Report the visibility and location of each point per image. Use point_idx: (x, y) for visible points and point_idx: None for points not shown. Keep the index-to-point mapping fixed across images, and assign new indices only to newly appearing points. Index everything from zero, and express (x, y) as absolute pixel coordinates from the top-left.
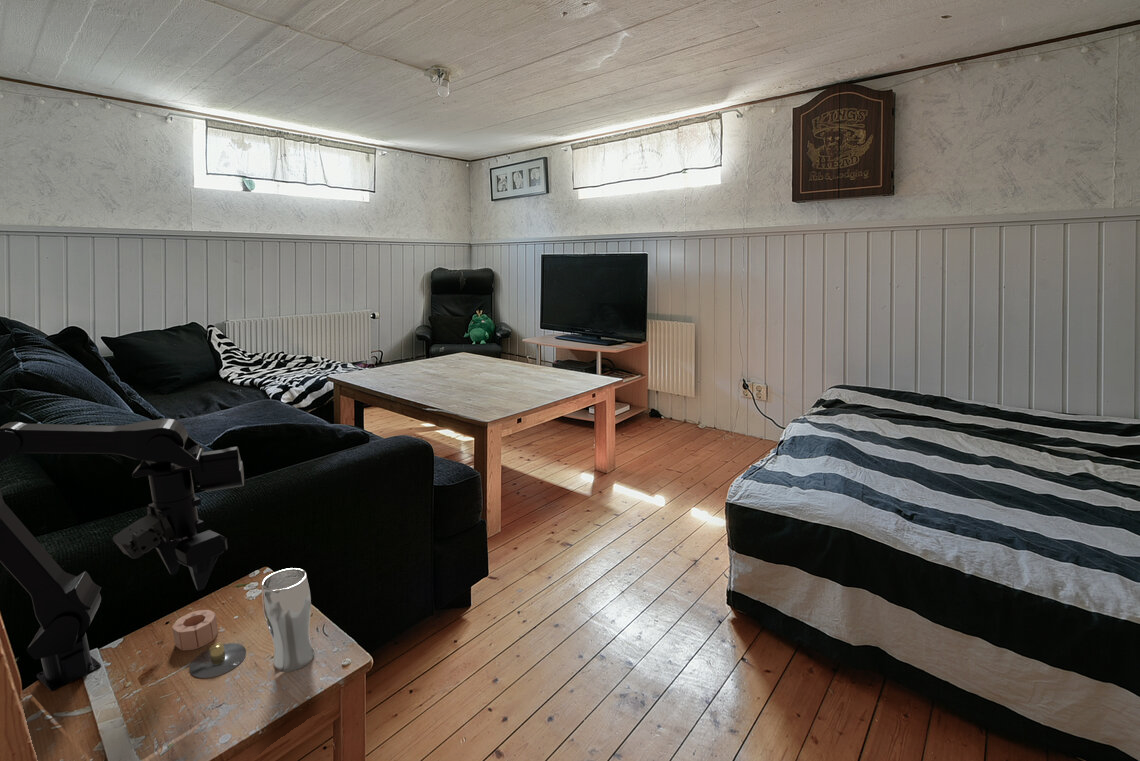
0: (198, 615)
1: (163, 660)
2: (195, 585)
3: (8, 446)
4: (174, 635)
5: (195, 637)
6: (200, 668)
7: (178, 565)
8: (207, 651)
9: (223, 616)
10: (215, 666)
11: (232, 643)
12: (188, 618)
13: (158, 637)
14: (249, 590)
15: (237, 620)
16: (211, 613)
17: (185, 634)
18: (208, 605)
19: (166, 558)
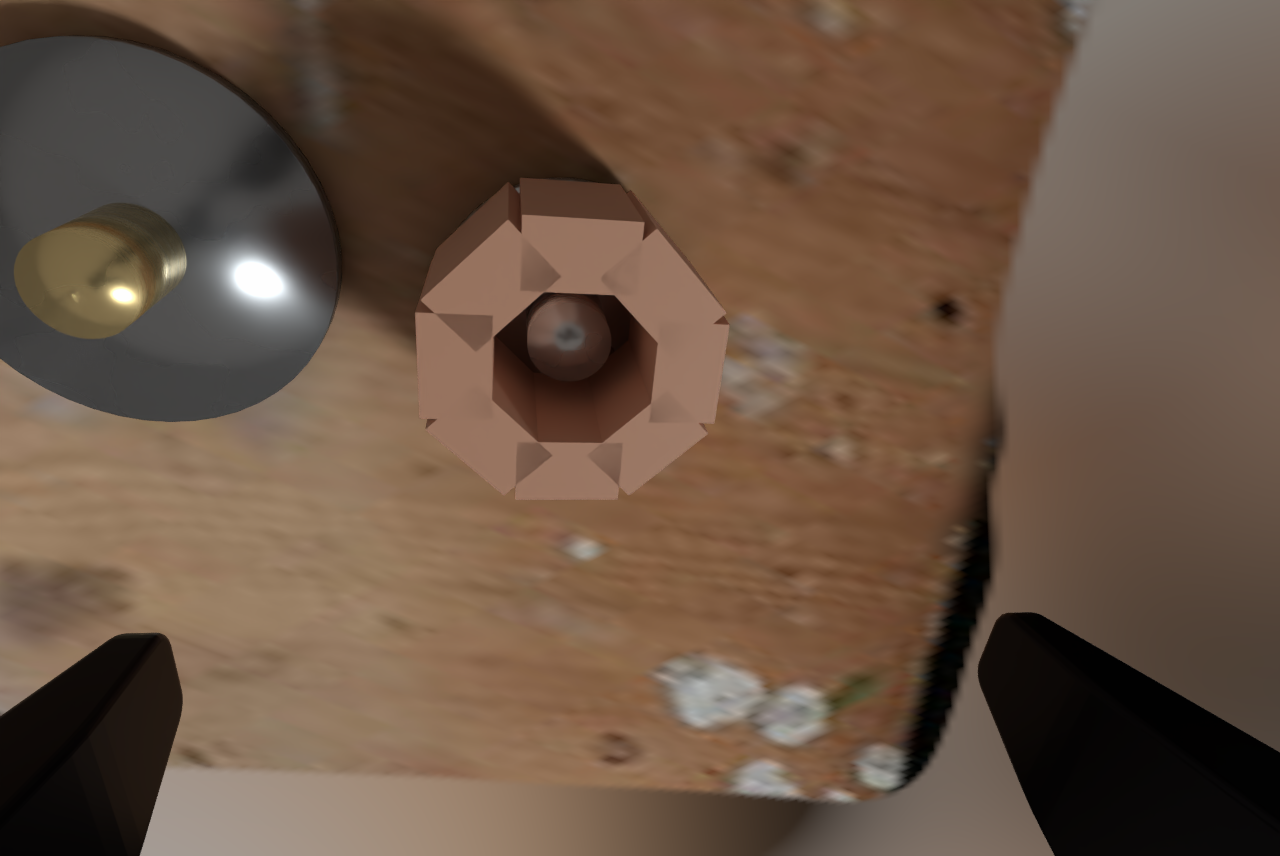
0: (620, 424)
1: (549, 46)
2: (76, 698)
3: None
4: (611, 204)
5: (429, 277)
6: (122, 115)
7: (1020, 769)
8: (313, 262)
9: (662, 513)
10: (47, 189)
11: (259, 399)
12: (656, 364)
13: (854, 188)
14: (762, 693)
15: (539, 535)
16: (548, 485)
17: (479, 240)
18: (857, 522)
19: (1260, 854)
